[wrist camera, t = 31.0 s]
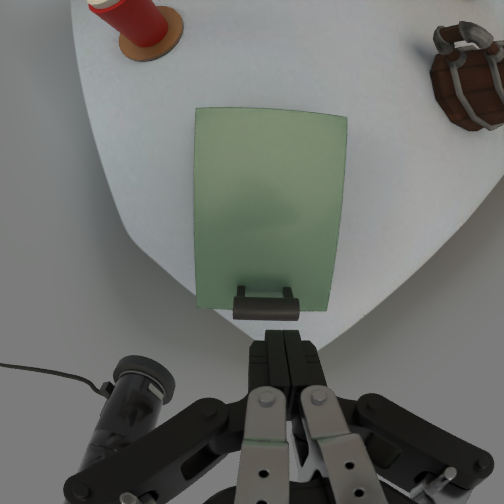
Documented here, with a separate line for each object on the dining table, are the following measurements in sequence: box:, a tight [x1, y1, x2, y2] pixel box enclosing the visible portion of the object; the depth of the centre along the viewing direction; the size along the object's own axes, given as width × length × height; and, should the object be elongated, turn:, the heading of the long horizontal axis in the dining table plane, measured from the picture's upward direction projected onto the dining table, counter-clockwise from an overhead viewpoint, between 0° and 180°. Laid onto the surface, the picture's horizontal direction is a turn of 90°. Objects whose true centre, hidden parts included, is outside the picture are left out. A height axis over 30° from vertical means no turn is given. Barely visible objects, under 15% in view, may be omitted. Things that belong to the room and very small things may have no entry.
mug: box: [430, 21, 504, 131], centre depth 17 cm, size 16×12×15 cm
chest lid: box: [194, 107, 347, 321], centre depth 21 cm, size 17×12×5 cm
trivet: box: [119, 6, 183, 62], centre depth 23 cm, size 8×8×1 cm
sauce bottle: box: [87, 0, 168, 47], centre depth 17 cm, size 5×5×12 cm
